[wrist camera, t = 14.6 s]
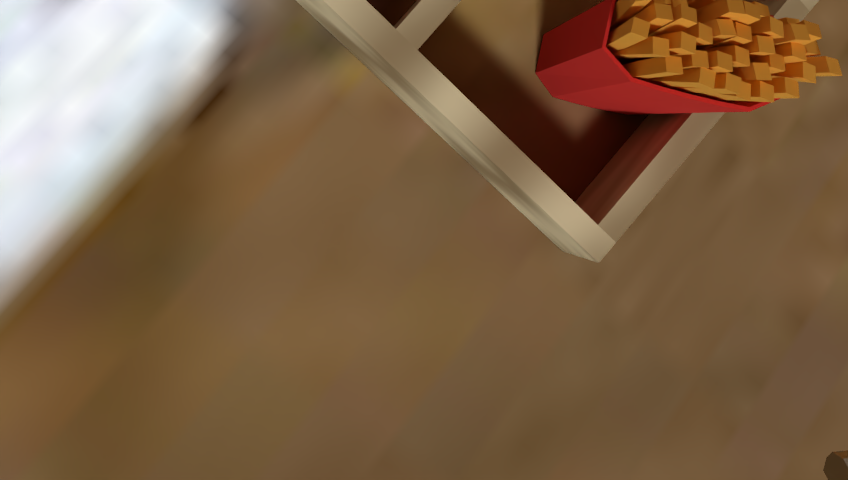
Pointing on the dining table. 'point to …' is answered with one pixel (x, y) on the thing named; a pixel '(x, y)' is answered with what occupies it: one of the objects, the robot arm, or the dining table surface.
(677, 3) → the french fries
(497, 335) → the dining table surface
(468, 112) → the caddy
